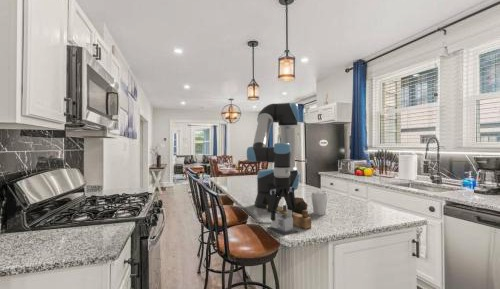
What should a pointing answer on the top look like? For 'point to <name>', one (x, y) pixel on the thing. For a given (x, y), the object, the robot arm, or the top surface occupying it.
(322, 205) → the cup
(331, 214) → the top surface
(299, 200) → the rock
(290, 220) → the grey block
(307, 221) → the plane body
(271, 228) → the mat
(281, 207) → the lever
